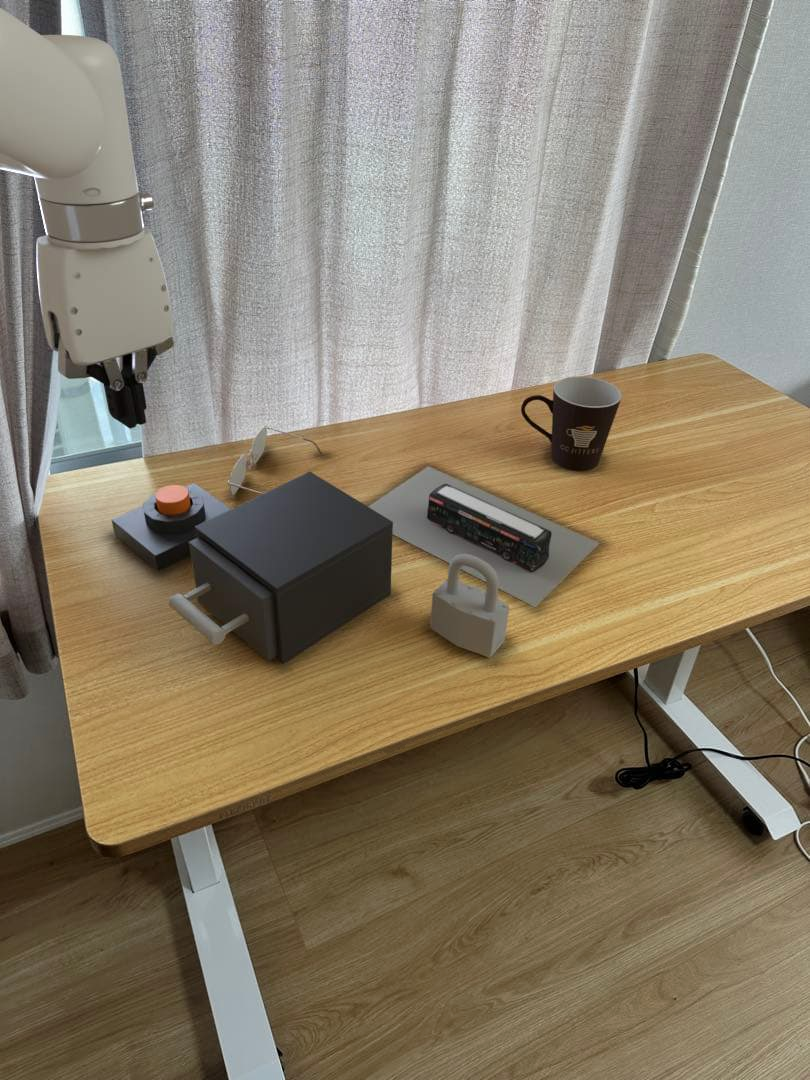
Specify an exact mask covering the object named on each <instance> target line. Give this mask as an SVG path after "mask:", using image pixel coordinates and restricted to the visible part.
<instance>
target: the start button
mask: <svg viewBox="0 0 810 1080" xmlns="http://www.w3.org/2000/svg"><path fill="white" fill-rule="evenodd" d="M185 487H186V486H183V485H180V484H170V485H165V486H163V487H161V488H159V489H158V490H157V491H156V492H155V493H156V495H155V498H156V503H157V508H158V511H159V512H160V513H162V514H165V515H176V514H181V513H183V512H186V511H187V510H188V509H189V508H190V498H189V492H188V490H187V488H185Z"/></svg>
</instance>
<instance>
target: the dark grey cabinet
mask: <svg viewBox="0 0 810 1080" xmlns="http://www.w3.org/2000/svg"><path fill="white" fill-rule="evenodd" d="M368 506H369V505H366V504H364V503H363V502H362V501H359V500H358V499H356V498H355V497H353V496H351V495H350V494H348V493H346V492H345V491H343V490H342V489H340V488H338V487H337V486H335V485H333V484H332V483H330V482H328V481H327V480H325V479H324V478H322V477H321V476H319V475H318V474H316V473H314V472H312V471H307V472H305V473H303V474H301V475H299V476H297V477H295V478H293V479H291V480H289V481H287V482H284V483H282V484H281V485H278V486H276V487H273V488H272V489H270V490H268V491H266V492H264V494H259V495H257V496H256V497H253V498H251V499H249V500H247V501H244V502H243V503H241V504H239V505H237V506H234V507H233V508H231V509H230V510H228V511H226V512H224V513H222V514H220V515H218V516H216V517H214V518H212V519H210V520H207V521H205V522H203V523H201V524H199V525H197V526H195V533H196V538H198V537H200V538H201V539H202V540H203V541H205V542H206V543H207V544H209V545H210V546H211V547H213V548H214V549H215V550H218V551H220V552H221V553H222V554H224V555H225V556H226V557H228V558H229V559H230V560H232V561H233V562H234V563H236V564H237V565H238V566H239V567H241V568H242V569H243V570H245V571H246V572H247V573H249V574H250V575H251V576H253V577H254V578H255V579H257V580H258V581H259V582H260V583H262V584H263V585H264V586H266V587H267V588H268V589H270V590H271V591H272V593H273V602H274V614H275V625H276V637H277V649H278V655H277V656H275V657H274V658H273V659H275V660H277V661H278V662H279V663H280V664H281V665H284V664H286V663H288V662H289V661H290V660H292V659H294V658H296V657H297V656H298V655H300V654H301V653H303V652H305V651H306V650H308V649H309V648H311V647H312V646H314V645H315V644H317V643H319V642H320V641H321V640H323V639H325V638H326V637H328V636H329V635H331V634H332V633H334V632H336V631H337V630H339V629H340V628H341V627H344V626H345V625H346V624H347V623H350V621H353V620H354V619H356V618H358V617H359V616H361V615H362V614H363V613H364V612H366V611H368V610H370V609H371V608H373V607H375V606H376V605H377V604H379V603H381V601H384V600H385V599H386V598H388V597H389V596H391V595H392V589H391V588H392V566H393V565H392V563H393V562H392V561H393V560H392V559H393V534H392V533H393V529H392V528H393V522H392V521H391V520H389V519H387V518H386V517H384V516H382V515H381V514H379V513H378V512H376V511H374V510H373V509H371V508H369V507H368Z"/></svg>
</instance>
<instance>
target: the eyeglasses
mask: <svg viewBox="0 0 810 1080" xmlns="http://www.w3.org/2000/svg"><path fill="white" fill-rule="evenodd" d="M268 430H271V431H274V432H279V433H282V434H285V435H287V436H292V437H294V438H295V437H296V438H298V439H302V440H304V441H307V442H310V443H312V444H313V445H314V446H315V447H316V449H317V451H318V453H319V454H320V456H321V457H323V456H324V454H323V452H322V451H321V450H320V448H319V446H318V445H317V443H315V442H314V441H313V440H311V439H308V438H305V437H301V436H298V435H295V434H292V433H289V432H285V431H283V430H280V429H276V428H274V427H270V426H267V425H264V426H263V427H262V428H261V429H260V430H259V431H258V432H257V434H256V435H255V436H254V439H253V440H252V444H251V446H250V447H251V448H250V451H249V452H248V453H244V454H241V456H240V458H238V460H237V461H236V463H235V464H234V466H233V468H232V470H231V472H230V474H229V479H228V480H227V485H229V491H230V494H231V496H234V495H235V494H236V493H237V491H238V490H239V489H243V490H247V491H250V492H253V493H256V494H259V495H262V494H264V493H265V492H264V493H263V492H261V491H258V490H254V489H251V488H248V487H245V486H242V484H243V482H244V480H245V477H246V474H247V468H248V471H251V470H252V468H253V467H252V466H253V465H255V464H256V463H257V462H258V461H259V459H260V458H261V456H262V455H263V453H264V451H265V449H266V443H267V435H268V434H267V433H268ZM249 456H251V459H249V461H248V457H249Z"/></svg>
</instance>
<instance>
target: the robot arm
mask: <svg viewBox="0 0 810 1080" xmlns="http://www.w3.org/2000/svg"><path fill="white" fill-rule="evenodd" d="M122 76H123V75H122V70H121V65H120V60H119V58H118V55H117V53H116V51H115V50H114V49H113V47H112V46H111V45H110V44H109V43H107V42H106V41H104V40H102V39H99V38H97V37H96V38H95V37H91V36H85V35H75V34H40V33H39V32H37V31H36V30H34V29H33V28H31V27H30V26H29V25H27V24H25V22H23V21H22V20H20V19H18V18H17V17H16V16H14V15H13V14H11V13H10V12H8V11H6V10H5V9H3V8H1V7H0V170H1V171H7V172H12V173H17V174H22V175H25V176H31V177H33V179H34V183H35V188H36V193H37V198H38V202H39V206H40V211H41V216H42V221H43V225H44V229H45V230H44V231H45V235H43V236H39V237H38V238H37V239H36V275H37V277H36V278H37V287H38V288H37V289H38V296H39V303H40V311H41V317H42V322H43V328H44V333H45V337H46V341H47V344H48V346H49V348H50V349H51V350H52V351H54V352H57V354H58V355H57V371H58V373H59V374H60V375H62V376H63V377H65V378H66V379H67V380H75V379H87V378H93V379H94V380H96V381H98V382H100V383H101V384H103V388H104V393H105V399H106V404H107V409H108V413H109V415H110V416H111V417H112V418H113V419H115V420H117V421H118V422H119V423H121V424H122V425H123V426H125V427H127V428H128V429H130V430H131V429H133V428H135V427H137V426H142V425H144V424H146V423H147V417H146V412H145V410H147V401H146V395H145V389H144V383H145V382H146V381H147V380H148V377H149V376H148V374H149V373H148V371H149V369H150V368H151V366H152V364H153V362H154V361H155V359H156V357H157V356H160V355H162V354H164V353H166V352H167V351H169V350H170V349H172V348H173V347H174V345H175V342H174V339H173V334H174V317H173V310H172V309H173V307H172V303H171V302H172V301H171V297H170V292H169V288H168V282H167V279H166V274H165V271H164V266H163V263H162V260H161V257H160V253H159V250H158V247H157V245H156V242H155V240H154V239H155V238H154V236H153V234H152V231H151V229H150V228H148V227H147V226H145V225H144V224H145V222H146V221H145V216H144V213H146V212H147V211H150V210H153V209H154V205H155V204H154V200H153V196H152V195H151V194H150V193H149V192H143V193H142V192H141V190H140V189H139V186H138V185H139V184H138V180H137V179H138V178H137V172H136V166H135V165H136V164H135V159H134V152H133V151H134V150H133V145H132V138H131V131H130V124H129V117H128V116H129V115H128V111H127V110H128V109H127V104H126V97H125V88H124V82H123V77H122ZM117 358H118V359H119V360H118V361H119V362H118V361H117Z"/></svg>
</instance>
